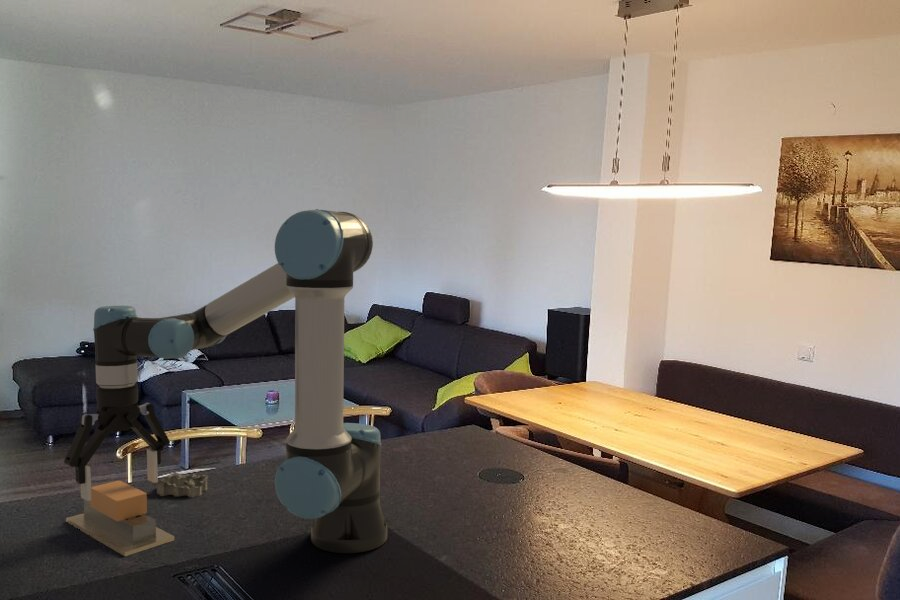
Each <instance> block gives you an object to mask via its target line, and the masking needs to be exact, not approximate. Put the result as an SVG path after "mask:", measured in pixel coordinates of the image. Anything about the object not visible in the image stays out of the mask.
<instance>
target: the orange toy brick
mask: <svg viewBox="0 0 900 600" xmlns="http://www.w3.org/2000/svg"><path fill="white" fill-rule="evenodd" d="M147 495H148V494H147V492H145V491H142V490H140V489H139V488H137V487H134V486H132V485H129V484H128V483H126V482H124V481H121V480H115V481H110V482H107V483H103V484H100V485H94V486H91V499H92V500H90V507H92V508H94V509H95V510H97V511H99V512H101V513H103V514H105V515H106V516H108V517H110V518H112V519H114V520H116V521H121V520H124V519H125V520H130V519H134V518H136V516H138V515H141V514H145V515H146V514H147V513H148V502H147V501H148V496H147Z"/></svg>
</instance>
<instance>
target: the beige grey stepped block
mask: <svg viewBox="0 0 900 600" xmlns="http://www.w3.org/2000/svg"><path fill="white" fill-rule="evenodd" d="M65 522H66V523H67V522H68V524H69V525H70V526H72V525H73V526H72V527H74V528H75V529H77V528H78V530H79V529H80V532H83V533H84V534H86V535H87V536H89V535H90V537H91V538H92V539H95V540H96V541H98V542H99V543H102V544H103V545H105V546H107V547H108V548H110V549H111V550H113V551H114V552H116V553H118V554H119V555H121V556H124V557H128V556H131V555H133V554H137V553H139V552H143V551H146V550H149V549H152V548H155V547H159V546H161V545H164V544H167V543H170V542H174V541H175V535H172V534H171V533H169V532H167V531H165V530H163V529H161V528H159V527H158V526H157V520H156V519H154V518H153V517H151V516H149V515H147V514H146V513H145V514H141V515H138V516H136V518H134V519H130V520H125V519H124V520H121V521H116V520H114V519H112V518H110V517H108V516H106V515H105V514H103V513H101V512H99V511H97V510H95V509H94V508H92V507H90V500H89V501H87V500H85V499H83V513H80V514H77V515H76V514H75V515H73V516H69V517H65Z"/></svg>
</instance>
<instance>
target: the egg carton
mask: <svg viewBox="0 0 900 600" xmlns="http://www.w3.org/2000/svg"><path fill="white" fill-rule="evenodd" d="M209 474H210V473H206V474H200V475H199V474H195V473H191V474H188V473H186V474H182V473H179V472H173V473H169V474H168V475H166V476H164V477H163V478H161V479H159V478H158V482H157V485H156V494H157V495H159V496H161V497H164V496H169V495H170V496H174V497H181V496H187V497H188V498H196V497H200V495H201V496H202V492H205V491H207V490H208V478H209Z"/></svg>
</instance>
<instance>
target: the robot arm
mask: <svg viewBox="0 0 900 600" xmlns="http://www.w3.org/2000/svg"><path fill="white" fill-rule="evenodd" d="M373 240H374V239H373V235H372V233H371V230H370V228H369V226H368V225H367V223H366V222H365V221H364V220H362V218H360V217H359V216H358V215H356V214H354V213H351V212H347V211H336V210H335V211H333V210H325V209H317V208H316V209H308V210H302V211H298V212H296V213H294V214H293V215H291V216H290V217H288V218H287V219H286V220H285V221H284V222H283V223H282V224H281V226H280V227H279V229H278V231H277V234H276V235H275V240H274V255H275V259H276V261H277V263H275V264H274V265H272V266H270V267H269V268H266V269H265V270H263V271H261V272H260V273H257V275H255V276H253V277H251V278H250V279H248V280H246V281H244V282H243V283H241V284H240V285H239V284H238V286H236V287H234V288H232V289H231V290H229V291H228V292H226V293H224V294H222V295H221V296H219V297H216V298H215V299H214V300H212V301H210V302H208V303H207V304H206V305H203V306H202V307H200V308H199V309H197V310H195V311H193V312H189V313H183V314H178V315H171V316H165V317H164V316H163V317H138V315H137V313H136V312H137V311H136V308H135V307H134V306H131V305H107V306H100V307H98V308H96V309H95V311H94V315H93V316H94V317H93V329H92V330H93V336H94V338H93V339H94V351H95V353H94V357H95V360H94V361H95V383H96V384H97V387H96V388H95V390H96V391H95V394H96V396H95V397H96V406H97V407H96V408H97V411H96V413H92V414H91V413H90V414H88V413H85V412H83V413H81V414H80V416H79V425H78V428H77V430H76V433H75V435H74V437H73V440H72V442H71V444H70V447H69V449H68V450H67V454H66V456H65V458H64V461H63V462H64V464H65V465H66V466H69V467H71V468H72V467H74V469H75V472H74V473H75V482H76V483H77V484H78V485H80V498H81V499H82V500H87V501H89V500H92V499H91V487H92V476H91V466H90V465H88V463H89V462H90V460H91V459H92V458H93V456H94V455H95V453H96V451H98V449H99V447H100V446H101V444H102V443H103V442H104V440H105V439H106V438H108V437H109V435H110V434H111V433H112V434H116V433H119V432H121V431H123V432H126V431H129V430H130V429H132V431H133V432H134V433H136V434H137V436H138V437H139V438H141V439H142V440H143V441H144V443H146V445H148V446H149V447H150V448H147V449H146V462H147V463H146V464H147V465H146V469H147V474H146V475H147V481H149V482H151V483H153V484H156V483H158V479H159V478H158V477H159V476H158V475H159V473H158V472H159V471H158V467H159V465H161V463H162V458H161V457H162V454H161V453H162V452H161V451H163V450H164V447H165V446H168V445H169V444H171V443H170V439H169V436H168V435H167V433H166V432H165V430H164V428H163V426H162V424H161V422H160V421H159V419H158V417H157V415H156V414H155V407H154V404H153V403H150V402H143V403H142V404H141V405H139V403H138V401H139V386H138V384H137V382H138V381H139V373H138V372H139V371H138V357H145V358H146V357H147V358H160V359H163V360H169V359H181V358H184V357H186V356H187V355H188V354H189V352H191V351H194V350H198V349H205V348H206V349H207V348H212V347H213V346H215V345H218V344H220V343H222V342H223V341H224V340H225V339H226V338H227V336H228V335H230V334H231V333H234V332H235V331H237V330H238V329H240V328H241V327H244V326H246V325H247V324H249V323H252V322H253V321H255V320H256V319H259V318H260V317H263V316H264V315H266V314H267V313H269V312H271V311H273V310H274V309H276V308H278V307H279V306H281V305H283V304H285V303H287V302H289V301H291V300H293V299H294V298H295V299H294V301H295V304H294V305H295V307H294V308H295V309H294V310H295V313H294V315H295V316H294V319H295V320H294V327H295V328H294V329H295V332H294V333H295V334H294V336H295V337H294V347H295V348H294V376H295V377H294V430H293V431H292V432H291V433H289V434H288V436H287V437H286V439H285V442H286V443H285V460H284V461H282V463H281V464H280V465H279V467H278V469H277V470H276V472H275V476H274V490H275V493H276V496H277V498H278V500H279V502H280V503H281V504H282V506H284V507H285V508H286V509H287V511H288V512H289V513H291V514H292V515H294V516H296V517H298V518H301V519H306V520H314V522H313V523H312V526H311V528H310V529H311V530H310V531H311V532H310V540H311V543H312V544H313V545H314V546H315V547H316V548H318V549H320V550H323V551H326V552H329V553H335V554H336V553H337V554H357V553H358V554H359V553H364V552H368V551H372V550H374V549H377V548H380V547H381V546H383V545H384V543H385V544H386V542H387V539H388V524H387V521H386V520H385V516H384V511H383V509H382V505H381V502H380V490H381V488H380V484H381V481H380V480H381V456H382V455H381V454H382V453H381V452H382V451H381V450H382V444H383V443H382V442H381V440H382V439H381V432H380V430H379V429H378V428H377V427H375V426H374V425H371V424H370V425H369V424H366V423H357V422H356V423H355V422H344V389H345V387H344V384H345V383H344V377H345V375H344V370H345V367H344V366H345V365H344V364H345V363H344V362H345V297H346V295H348V293H349V292H350V291H352V289H353V288H354V273H355V272H357V271H360V270H361V269H362V267H364V266H365V265H366V264H367V262H368V261H369V259H370V257H371V255H372V251H373V247H374V246H373V245H374V243H373V242H374V241H373ZM140 414H141V415H143V416H144V419H145V421H146V422H147V424H148V426H149V427H150V429H151V431H152V433H153V435H154V436H155V437H154V436H153V435H152V434H151V433H150V432H149V431H148V430H147V429H146V428H145V427H143V425H142V423H141V422H139V421H138V420H137V419H138V417H139V415H140ZM95 422H98V425H97V426H96V427H95V429H94V431H93V432H94V433H93V434H92V435H91V437H90V438H89V435H90V433H91V431H92V428H93V426H94V425H95ZM88 438H89V440H88ZM87 440H88V441H87ZM86 442H87V443H86Z"/></svg>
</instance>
